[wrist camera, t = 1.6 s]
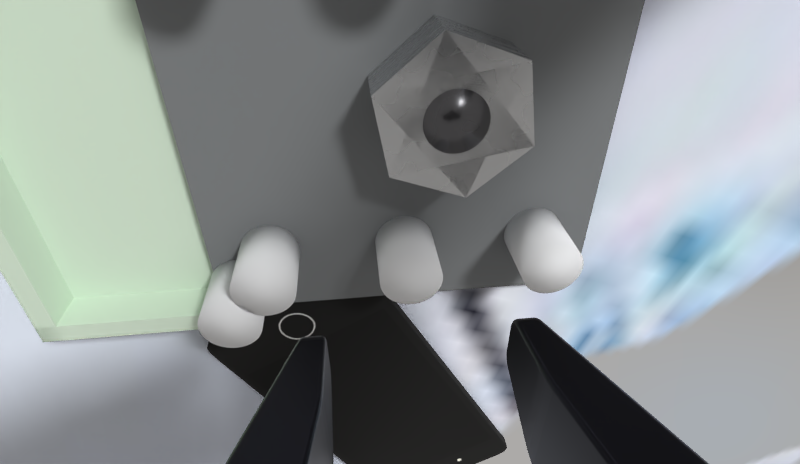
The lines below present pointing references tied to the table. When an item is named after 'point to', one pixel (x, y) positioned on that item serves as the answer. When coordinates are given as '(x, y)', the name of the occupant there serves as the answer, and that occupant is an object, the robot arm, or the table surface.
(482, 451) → the cell phone
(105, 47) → the spacer field
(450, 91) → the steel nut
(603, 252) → the table surface
